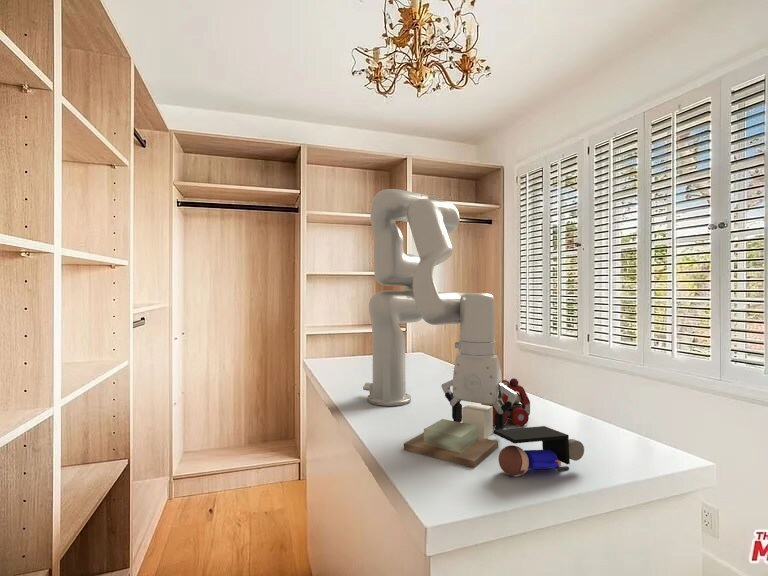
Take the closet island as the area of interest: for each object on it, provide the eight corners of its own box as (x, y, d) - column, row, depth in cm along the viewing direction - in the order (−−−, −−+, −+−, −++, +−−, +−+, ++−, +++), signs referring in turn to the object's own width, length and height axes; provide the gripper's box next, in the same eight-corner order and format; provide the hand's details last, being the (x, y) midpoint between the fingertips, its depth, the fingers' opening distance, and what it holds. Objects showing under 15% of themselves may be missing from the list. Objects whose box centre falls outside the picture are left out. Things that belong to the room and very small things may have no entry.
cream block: (462, 435, 92) (462, 407, 92) (471, 429, 96) (471, 403, 96) (484, 440, 89) (484, 411, 89) (492, 433, 93) (492, 406, 93)
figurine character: (555, 464, 80) (488, 468, 74) (558, 424, 80) (492, 424, 75) (584, 479, 73) (513, 484, 68) (587, 435, 74) (517, 436, 68)
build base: (403, 449, 83) (403, 428, 83) (432, 432, 93) (432, 413, 93) (474, 467, 75) (474, 444, 75) (498, 447, 84) (498, 426, 85)
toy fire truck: (536, 425, 98) (536, 381, 98) (485, 427, 97) (485, 382, 97) (523, 417, 105) (523, 375, 105) (475, 418, 104) (475, 376, 104)
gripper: (434, 347, 94) (434, 424, 94) (510, 354, 84) (511, 439, 84) (449, 344, 101) (449, 416, 100) (522, 350, 91) (522, 429, 90)
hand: (477, 426), depth 92 cm, fingers open, 9 cm apart
